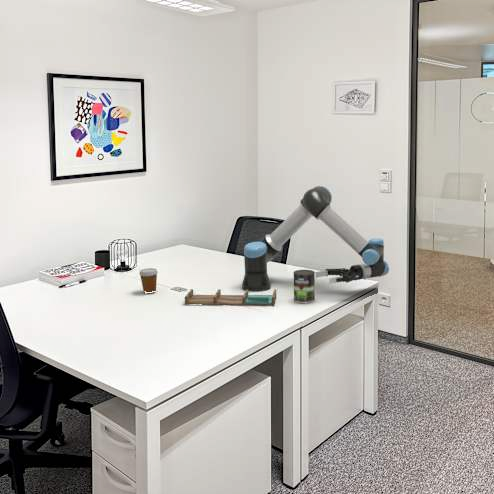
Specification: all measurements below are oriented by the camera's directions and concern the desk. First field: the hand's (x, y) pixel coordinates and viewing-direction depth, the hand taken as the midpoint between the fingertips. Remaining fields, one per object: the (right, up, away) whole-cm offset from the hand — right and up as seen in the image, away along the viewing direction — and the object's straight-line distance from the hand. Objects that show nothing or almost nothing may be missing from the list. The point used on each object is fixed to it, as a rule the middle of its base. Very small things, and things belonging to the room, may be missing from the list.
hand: (322, 277), depth 290 cm
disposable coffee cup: (-88, -9, +21) cm, 91 cm away
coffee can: (-9, -11, -1) cm, 14 cm away
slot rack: (-44, -12, +1) cm, 46 cm away
